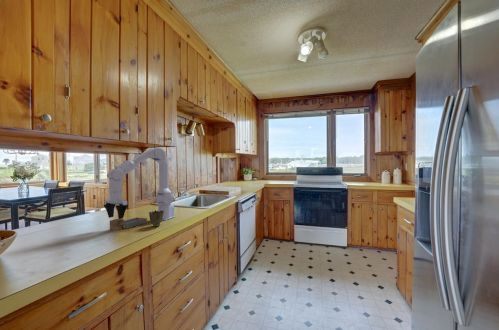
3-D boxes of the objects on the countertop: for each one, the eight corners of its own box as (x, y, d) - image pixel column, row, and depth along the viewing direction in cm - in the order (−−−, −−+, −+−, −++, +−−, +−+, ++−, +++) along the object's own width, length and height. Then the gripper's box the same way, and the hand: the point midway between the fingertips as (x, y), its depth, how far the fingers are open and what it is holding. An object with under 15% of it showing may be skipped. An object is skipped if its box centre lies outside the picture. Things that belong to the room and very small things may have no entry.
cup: (166, 224, 123) (166, 210, 123) (159, 228, 116) (159, 213, 116) (153, 224, 124) (153, 209, 124) (146, 227, 116) (146, 212, 116)
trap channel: (137, 221, 131) (137, 216, 131) (147, 222, 128) (147, 218, 128) (115, 227, 118) (115, 222, 118) (125, 228, 115) (125, 224, 115)
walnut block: (118, 227, 117) (117, 218, 117) (123, 228, 116) (123, 219, 116) (109, 230, 113) (109, 220, 113) (115, 231, 111) (115, 221, 111)
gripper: (98, 192, 113) (99, 218, 113) (118, 193, 107) (118, 221, 107) (112, 190, 120) (112, 215, 120) (130, 191, 114) (131, 217, 114)
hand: (115, 217), depth 114 cm, fingers open, 7 cm apart
